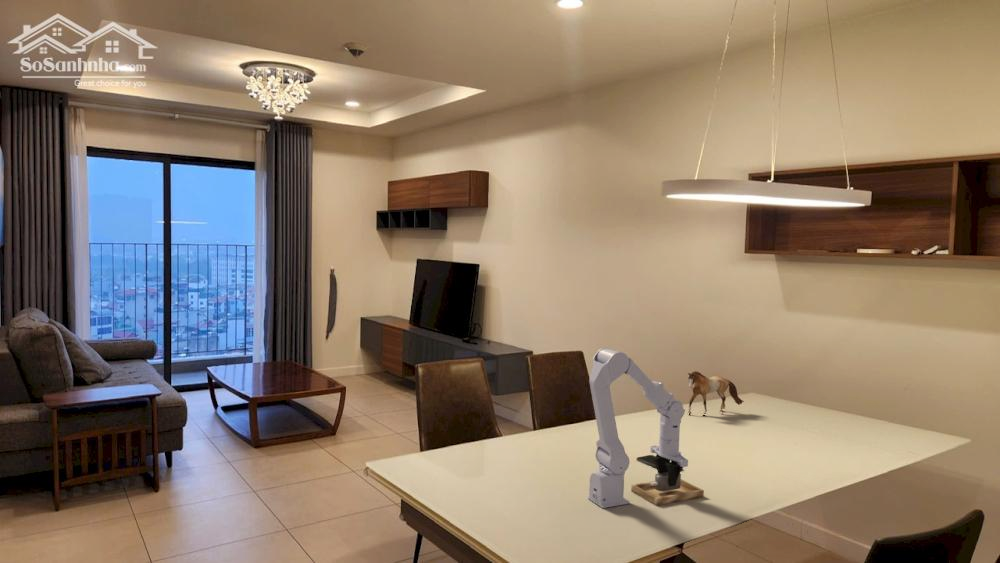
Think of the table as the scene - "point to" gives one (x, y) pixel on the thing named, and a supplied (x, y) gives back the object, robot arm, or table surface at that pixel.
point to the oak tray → (667, 493)
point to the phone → (647, 460)
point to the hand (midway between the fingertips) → (667, 483)
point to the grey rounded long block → (664, 482)
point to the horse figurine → (711, 388)
